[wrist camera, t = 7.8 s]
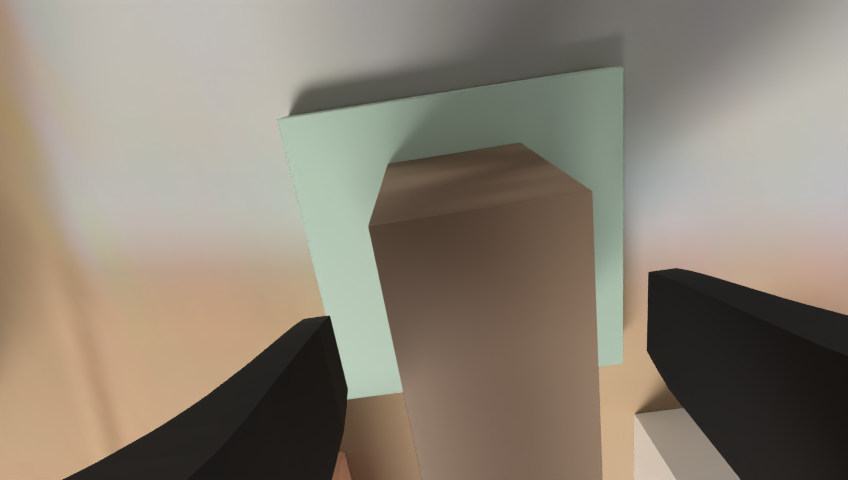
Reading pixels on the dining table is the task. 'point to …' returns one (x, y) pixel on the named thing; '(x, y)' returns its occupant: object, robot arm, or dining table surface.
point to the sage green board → (439, 135)
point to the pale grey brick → (675, 449)
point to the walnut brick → (492, 313)
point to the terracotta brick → (341, 468)
